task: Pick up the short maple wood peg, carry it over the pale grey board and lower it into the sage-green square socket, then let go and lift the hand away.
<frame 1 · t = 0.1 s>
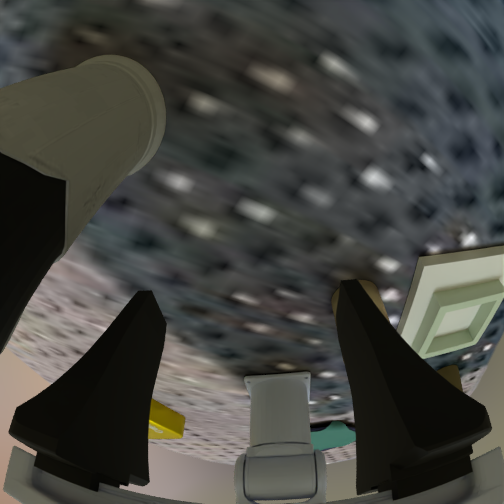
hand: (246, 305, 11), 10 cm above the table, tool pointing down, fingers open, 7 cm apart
cutlery set: (335, 428, 51), on the table
maple peg: (355, 297, 25), on the table
element tile: (132, 403, 44), on the table
socket board: (451, 307, 27), on the table
glass holder: (93, 153, 18), on the table
cork: (441, 374, 37), on the table
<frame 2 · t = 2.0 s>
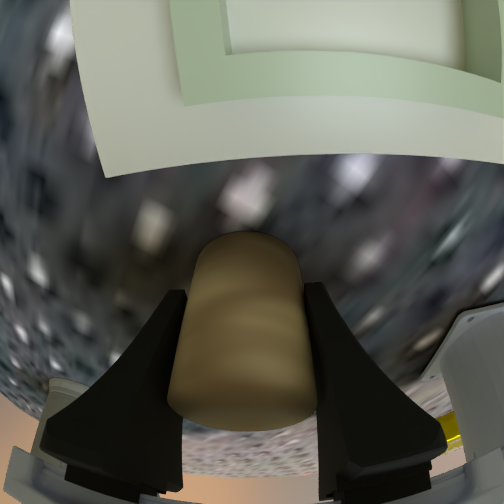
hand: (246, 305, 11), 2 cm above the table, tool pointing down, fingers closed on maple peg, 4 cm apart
maple peg: (247, 274, 13), on the table, touching gripper
element tile: (441, 422, 32), on the table
glass holder: (111, 408, 25), on the table
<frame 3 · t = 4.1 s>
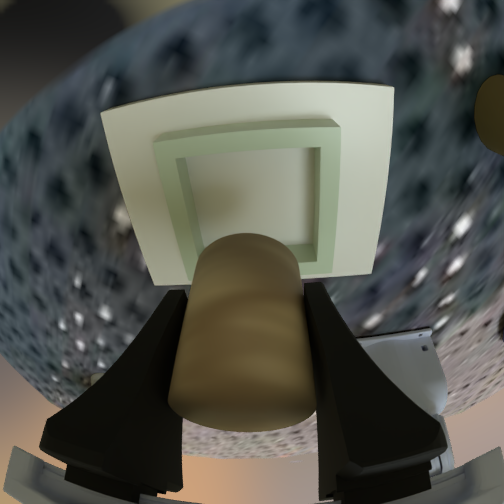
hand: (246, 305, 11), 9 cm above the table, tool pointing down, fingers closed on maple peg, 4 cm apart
maple peg: (247, 276, 13), point 7 cm above the table, touching gripper
socket board: (253, 189, 18), on the table
cork: (500, 113, 13), on the table
when the fingers open (4 cm above the table, at t = 6.0 s): maple peg stays where it is, resting on socket board.
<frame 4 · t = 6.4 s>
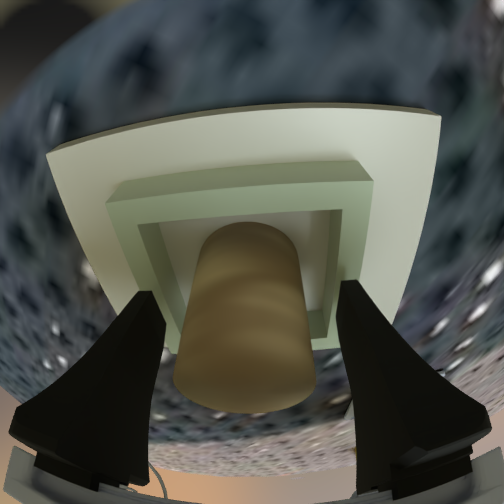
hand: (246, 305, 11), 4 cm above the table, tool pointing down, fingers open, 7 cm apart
maple peg: (248, 264, 13), point 1 cm above the table, touching socket board
socket board: (248, 246, 14), on the table
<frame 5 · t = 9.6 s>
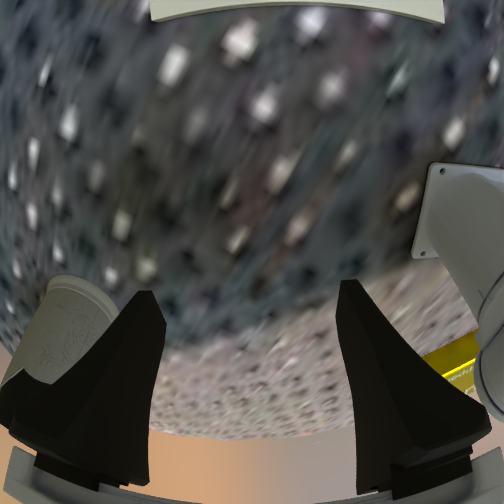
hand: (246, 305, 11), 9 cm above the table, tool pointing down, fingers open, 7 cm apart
element tile: (455, 358, 34), on the table
glass holder: (106, 316, 27), on the table
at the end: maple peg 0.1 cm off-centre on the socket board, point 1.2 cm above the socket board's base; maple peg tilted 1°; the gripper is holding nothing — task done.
